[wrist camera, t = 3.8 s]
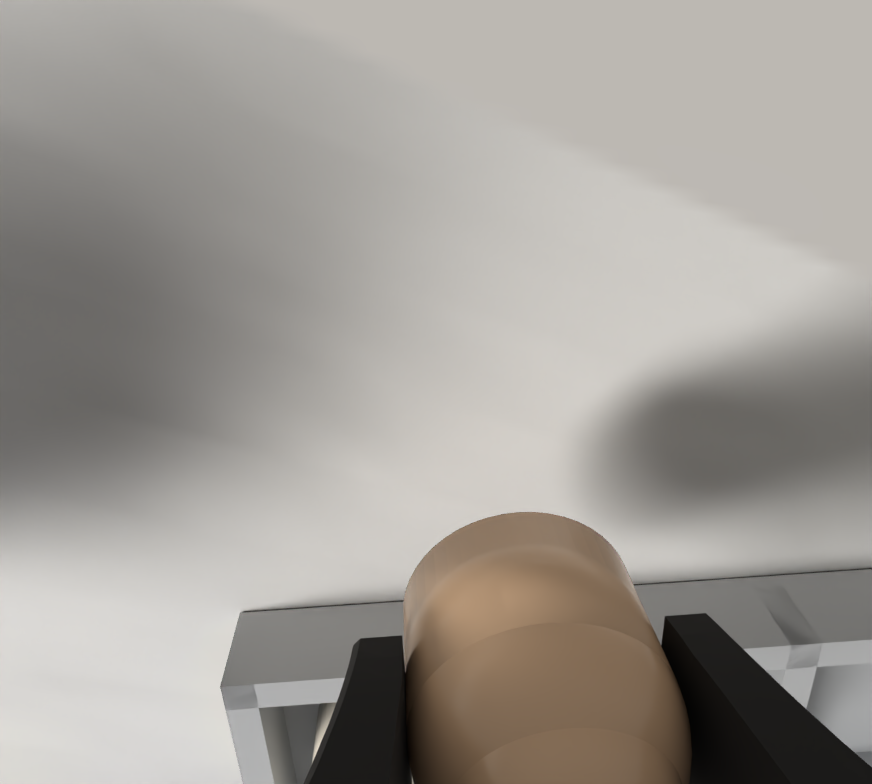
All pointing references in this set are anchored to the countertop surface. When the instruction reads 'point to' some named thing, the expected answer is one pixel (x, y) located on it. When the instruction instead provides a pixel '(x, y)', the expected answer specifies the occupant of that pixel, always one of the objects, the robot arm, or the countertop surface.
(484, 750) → the brown egg
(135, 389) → the countertop surface
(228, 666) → the egg carton
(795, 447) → the countertop surface
